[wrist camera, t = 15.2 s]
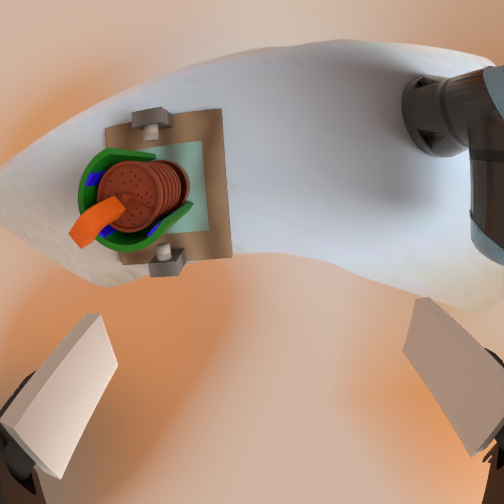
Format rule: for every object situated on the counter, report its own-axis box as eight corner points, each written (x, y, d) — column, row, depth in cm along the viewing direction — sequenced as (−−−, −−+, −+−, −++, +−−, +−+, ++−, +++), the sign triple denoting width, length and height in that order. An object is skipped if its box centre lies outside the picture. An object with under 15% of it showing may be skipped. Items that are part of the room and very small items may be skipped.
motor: (207, 186, 39) (175, 206, 19) (171, 234, 40) (118, 293, 21) (153, 145, 36) (80, 133, 17) (120, 194, 38) (38, 223, 19)
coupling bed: (221, 110, 37) (217, 99, 30) (232, 254, 43) (230, 272, 36) (109, 129, 37) (86, 124, 29) (125, 262, 43) (107, 279, 36)
